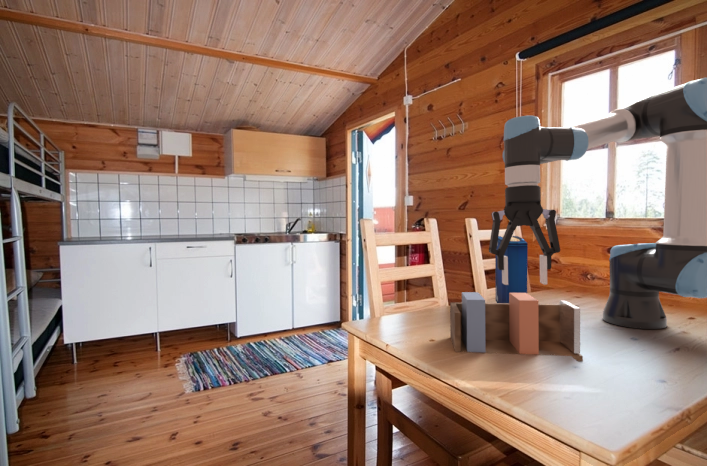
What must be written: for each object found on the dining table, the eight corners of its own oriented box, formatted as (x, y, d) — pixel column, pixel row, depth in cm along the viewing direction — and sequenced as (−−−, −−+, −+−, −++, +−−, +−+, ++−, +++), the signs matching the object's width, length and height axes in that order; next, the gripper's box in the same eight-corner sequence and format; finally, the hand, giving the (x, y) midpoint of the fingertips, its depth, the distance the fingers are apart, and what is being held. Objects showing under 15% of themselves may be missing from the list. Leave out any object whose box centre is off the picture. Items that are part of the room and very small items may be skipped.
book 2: (530, 318, 118) (530, 238, 118) (506, 317, 120) (505, 238, 119) (515, 303, 140) (515, 235, 139) (495, 302, 141) (494, 235, 140)
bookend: (565, 341, 92) (565, 300, 92) (580, 353, 84) (580, 308, 84) (559, 341, 92) (559, 300, 92) (574, 353, 84) (574, 308, 84)
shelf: (563, 344, 94) (563, 304, 94) (582, 360, 83) (582, 315, 83) (450, 341, 98) (450, 302, 98) (455, 356, 87) (454, 312, 87)
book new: (526, 341, 94) (526, 292, 93) (538, 354, 85) (538, 300, 84) (509, 340, 94) (509, 292, 94) (519, 353, 85) (519, 300, 85)
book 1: (478, 340, 95) (478, 292, 95) (485, 352, 87) (485, 299, 86) (462, 339, 96) (461, 292, 96) (467, 351, 87) (466, 299, 87)
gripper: (563, 184, 90) (565, 280, 91) (473, 189, 94) (475, 281, 94) (577, 182, 83) (578, 286, 84) (478, 186, 86) (481, 286, 87)
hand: (524, 283), depth 89 cm, fingers open, 8 cm apart
